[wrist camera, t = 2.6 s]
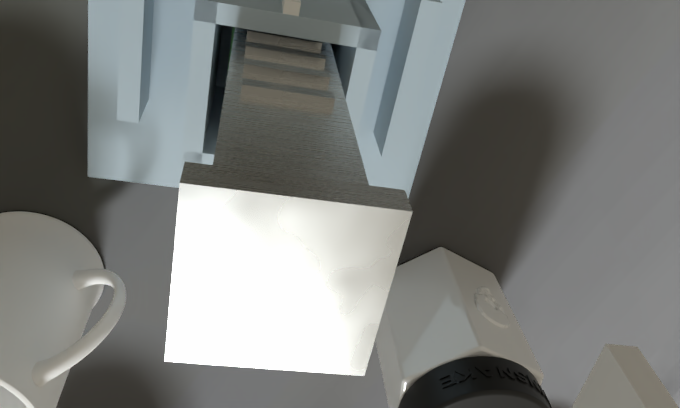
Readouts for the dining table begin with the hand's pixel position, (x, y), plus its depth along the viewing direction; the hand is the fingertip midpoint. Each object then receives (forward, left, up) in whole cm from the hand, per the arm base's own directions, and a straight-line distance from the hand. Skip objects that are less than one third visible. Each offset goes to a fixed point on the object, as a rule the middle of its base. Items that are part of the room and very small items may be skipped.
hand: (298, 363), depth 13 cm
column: (0, 0, -22) cm, 22 cm away
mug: (-11, -16, -24) cm, 31 cm away
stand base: (0, 0, -24) cm, 24 cm away
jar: (+13, -16, -24) cm, 31 cm away
